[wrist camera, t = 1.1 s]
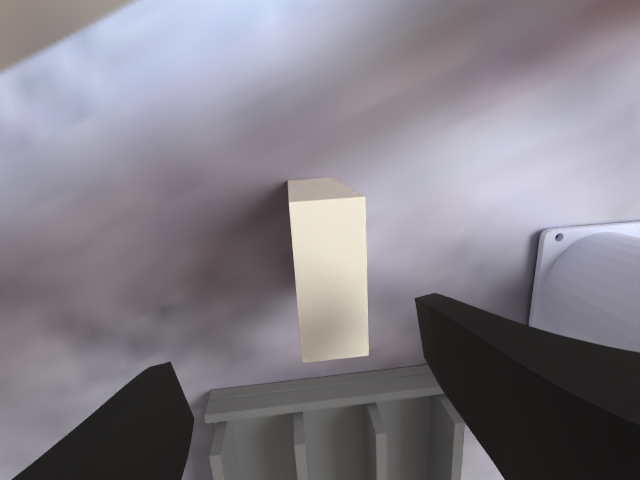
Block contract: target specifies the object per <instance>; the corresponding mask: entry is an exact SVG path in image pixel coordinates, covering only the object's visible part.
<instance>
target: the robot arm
mask: <svg viewBox="0 0 640 480" xmlns="http://www.w3.org/2000/svg"><path fill="white" fill-rule="evenodd" d="M557 234H558V237H557V238H556V239H555V237H556V235H557ZM415 302H416V308H417V315H418V321H419V328H420V334H421V340H422V347H423V353H424V358H425V360H426V362H427V364H428V365H429V367H430V369H431V371H432V373H433V375H434V377H435V378H436V380H437V382H438V384H439V386H440V388H441V389H442V390H443V392H444V393H445V395H446V396H447V398H448V399H449V400H450V402H451V403H452V405H453V406H454V408H455V409H456V410H457V412H458V413H459V415H460V416H461V417H462V419H463V420H464V422H465V423H466V425H467V426H468V427H469V429H470V430H471V432H472V433H473V434H474V436H475V437H476V439H477V440H478V441H479V443H480V444H481V446H482V447H483V448H484V450H485V451H486V453H487V454H488V455H489V457H490V458H491V460H492V461H493V462H494V464H495V465H496V467H497V469H498V470H499V472H500V473H501V475H502V476H503V478H504V479H505V480H640V221H634V222H622V223H611V224H599V225H587V226H576V227H564V228H552V229H546V230H544V231H543V232H542V233H541V235H540V239H539V247H538V255H537V263H536V271H535V279H534V287H533V294H532V302H531V310H530V318H529V326H528V325H525V324H521V323H518V322H515V321H512V320H509V319H506V318H503V317H500V316H498V315H495V314H492V313H489V312H487V311H484V310H481V309H478V308H476V307H473V306H470V305H468V304H465V303H463V302H460V301H457V300H455V299H452V298H449V297H446V296H443V295H440V294H437V293H433V294H429V295H425V296H421V297H418V298H415ZM193 424H194V417H193V414H192V412H191V409H190V407H189V405H188V402H187V400H186V398H185V395H184V393H183V390H182V388H181V386H180V383H179V381H178V379H177V376H176V374H175V371H174V369H173V367H172V364H171V362H167V363H164V364H160V365H156V366H152V367H149V368H147V369H146V370H144V371H143V372H142V373H140V374H139V375H138V376H136V377H135V378H134V379H133V380H131V381H130V382H129V383H128V384H127V385H125V386H124V387H123V388H122V389H121V390H119V391H118V392H117V393H116V394H115V395H114V396H112V397H111V398H110V399H109V400H108V401H107V402H105V403H104V404H103V405H102V406H101V407H100V408H98V409H97V410H96V411H95V412H94V413H93V414H91V415H90V416H89V417H88V418H87V419H86V420H84V421H83V422H82V423H81V424H80V425H79V426H77V427H76V428H75V429H74V430H73V431H71V432H70V433H69V434H68V435H66V436H65V437H64V438H63V439H62V440H60V441H59V442H58V443H57V444H55V445H54V446H53V447H52V448H51V449H49V450H48V451H47V452H46V453H44V454H43V455H42V456H41V457H40V458H38V459H37V460H36V461H35V462H33V463H32V464H31V465H30V466H28V467H27V468H26V469H25V470H23V471H22V472H21V473H19V474H18V475H17V476H16V477H14V478H13V479H12V480H181V478H182V475H183V472H184V468H185V465H186V461H187V458H188V453H189V448H190V443H191V437H192V431H193Z"/></svg>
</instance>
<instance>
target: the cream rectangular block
mask: <svg viewBox="0 0 640 480" xmlns="http://www.w3.org/2000/svg"><path fill="white" fill-rule="evenodd" d="M288 196H289V210H290V222H291V234H292V246H293V257H294V269H295V281H296V293H297V305H298V316H299V328H300V340H301V352H302V363H307V362H316V361H325V360H334V359H343V358H352V357H360V356H369V346H368V299H367V252H366V205H365V196H363V195H362V194H360V193H358V192H356V191H355V190H353V189H351V188H350V187H348V186H346V185H344V184H343V183H341V182H339V181H338V180H336V179H334V178H333V177H330V178H316V179H301V180H288Z"/></svg>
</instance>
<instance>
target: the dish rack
mask: <svg viewBox="0 0 640 480" xmlns="http://www.w3.org/2000/svg"><path fill="white" fill-rule="evenodd" d="M204 419H205V424H207V423H213V428H214V438H213V442H212V446H211V450H210V454H209V460H210V465H211V470H212V475H213V480H461V468H462V454H463V441H464V428H465V422H464V420H463V419H462V417H461V416H460V415H459V413H458V412H457V410H456V409H455V408H454V406H453V405H452V403H451V402H450V400H449V399H448V398H447V396H446V395H445V393H444V392H443V390H442V389H441V388H440V386H439V384H438V382H437V380H436V378H435V377H434V375H433V373H432V371H431V369H430V367H429V365H421V366H412V367H404V368H395V369H387V370H378V371H370V372H361V373H353V374H344V375H335V376H327V377H318V378H310V379H301V380H293V381H284V382H276V383H267V384H259V385H250V386H242V387H233V388H225V389H216V390H211V392H210V395H209V398H208V404H207V407H206V410H205V413H204Z"/></svg>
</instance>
